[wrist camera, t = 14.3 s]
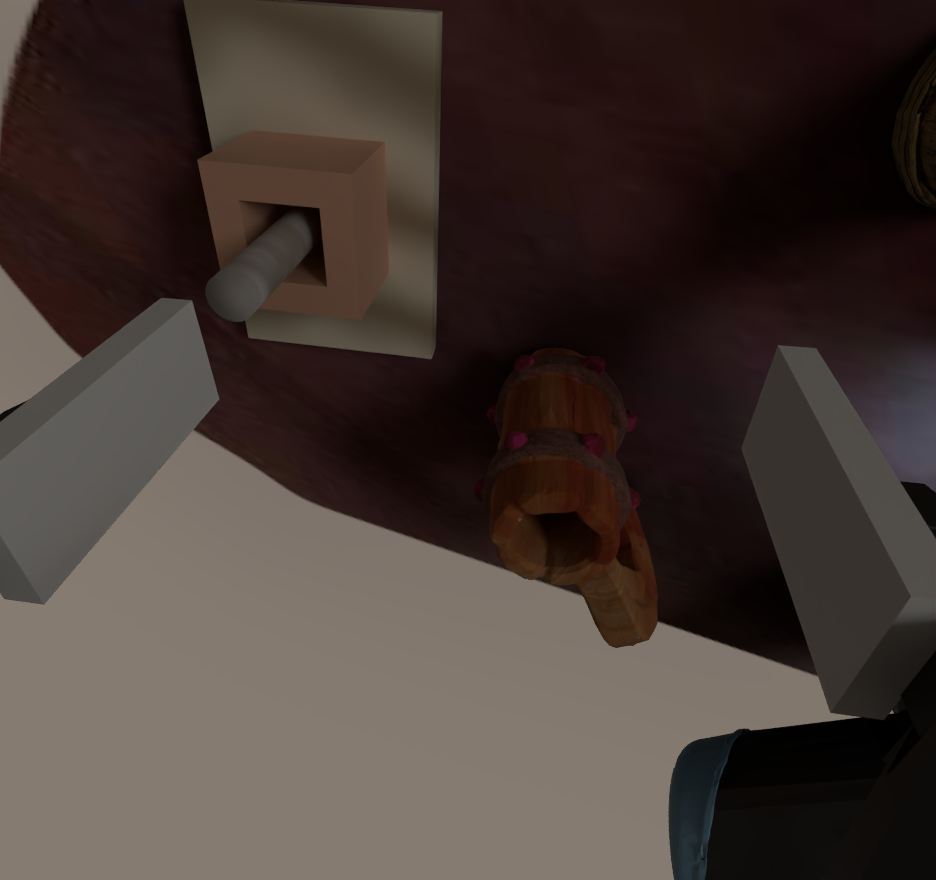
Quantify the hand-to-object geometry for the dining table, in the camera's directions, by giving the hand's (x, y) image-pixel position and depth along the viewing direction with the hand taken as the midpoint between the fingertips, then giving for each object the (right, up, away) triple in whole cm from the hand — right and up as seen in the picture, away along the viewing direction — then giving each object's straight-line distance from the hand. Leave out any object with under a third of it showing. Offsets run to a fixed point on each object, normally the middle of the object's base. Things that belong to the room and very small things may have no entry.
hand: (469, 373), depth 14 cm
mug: (+8, 0, +28) cm, 29 cm away
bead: (-8, +11, +20) cm, 24 cm away
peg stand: (-8, +12, +21) cm, 25 cm away
